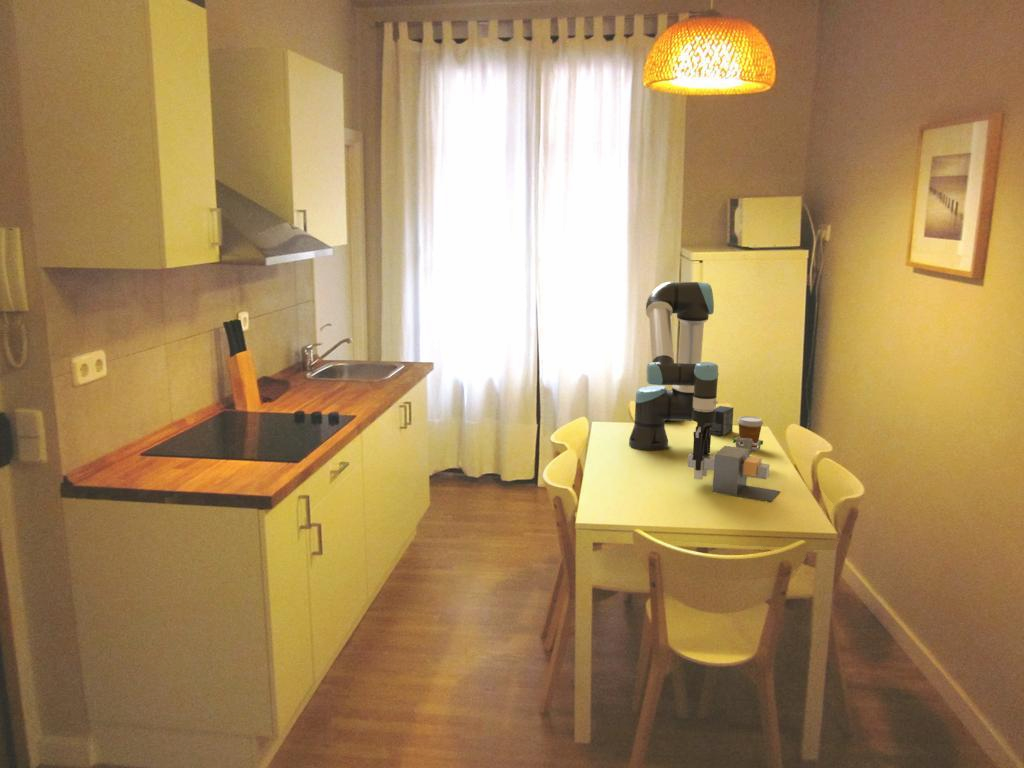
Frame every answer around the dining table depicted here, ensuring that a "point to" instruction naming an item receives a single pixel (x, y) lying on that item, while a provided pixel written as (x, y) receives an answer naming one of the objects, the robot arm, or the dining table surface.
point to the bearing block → (729, 470)
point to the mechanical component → (747, 444)
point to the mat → (758, 493)
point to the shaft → (761, 468)
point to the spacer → (751, 465)
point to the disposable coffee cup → (750, 428)
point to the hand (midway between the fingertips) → (700, 476)
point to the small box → (722, 421)
